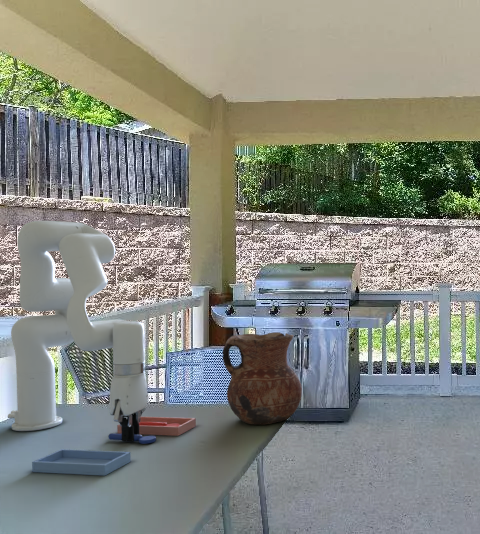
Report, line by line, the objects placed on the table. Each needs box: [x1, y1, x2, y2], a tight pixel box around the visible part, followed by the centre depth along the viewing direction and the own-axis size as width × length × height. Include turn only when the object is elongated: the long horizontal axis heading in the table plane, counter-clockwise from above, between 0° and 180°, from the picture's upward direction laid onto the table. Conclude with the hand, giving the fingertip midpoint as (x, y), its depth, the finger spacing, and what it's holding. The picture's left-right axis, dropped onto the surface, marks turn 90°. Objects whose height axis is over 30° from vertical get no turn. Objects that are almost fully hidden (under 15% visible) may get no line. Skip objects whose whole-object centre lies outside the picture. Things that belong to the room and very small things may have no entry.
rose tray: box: [116, 416, 197, 437], centre depth 168 cm, size 18×9×2 cm, turn 80°
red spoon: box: [139, 422, 180, 427], centre depth 168 cm, size 13×4×2 cm, turn 80°
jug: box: [222, 331, 303, 426], centre depth 177 cm, size 22×21×25 cm
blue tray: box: [31, 448, 132, 477], centre depth 139 cm, size 18×9×2 cm, turn 80°
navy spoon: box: [107, 432, 157, 445], centre depth 158 cm, size 13×4×2 cm, turn 80°
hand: (130, 439), depth 158 cm, fingers closed on navy spoon, 1 cm apart
